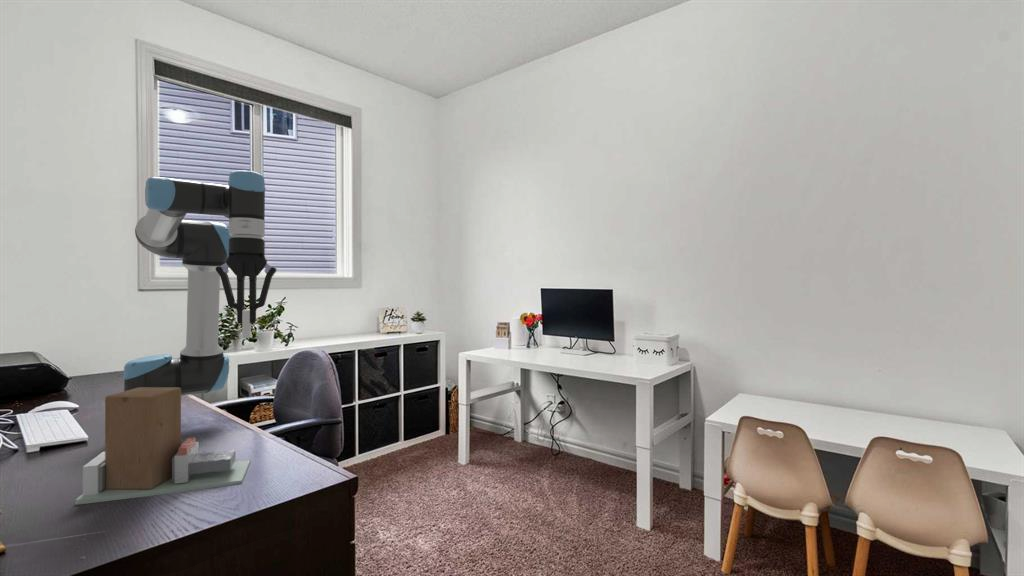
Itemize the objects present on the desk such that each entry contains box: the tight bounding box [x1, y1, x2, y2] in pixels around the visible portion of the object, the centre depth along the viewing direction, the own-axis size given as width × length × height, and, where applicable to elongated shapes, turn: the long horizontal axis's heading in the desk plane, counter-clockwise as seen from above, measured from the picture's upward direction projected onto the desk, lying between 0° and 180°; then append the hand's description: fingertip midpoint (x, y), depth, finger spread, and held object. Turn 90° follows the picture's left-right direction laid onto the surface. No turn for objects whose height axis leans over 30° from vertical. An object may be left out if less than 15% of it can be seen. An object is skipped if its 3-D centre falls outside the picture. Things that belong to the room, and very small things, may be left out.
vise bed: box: [74, 451, 251, 506], centre depth 113 cm, size 14×30×7 cm, turn 111°
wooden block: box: [104, 387, 182, 489], centre depth 111 cm, size 10×10×20 cm
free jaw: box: [172, 437, 236, 484], centre depth 116 cm, size 10×11×7 cm
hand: (246, 337), depth 119 cm, fingers closed
